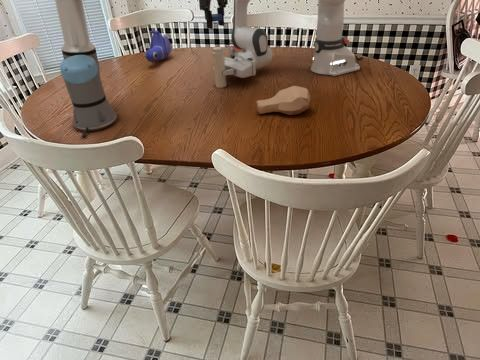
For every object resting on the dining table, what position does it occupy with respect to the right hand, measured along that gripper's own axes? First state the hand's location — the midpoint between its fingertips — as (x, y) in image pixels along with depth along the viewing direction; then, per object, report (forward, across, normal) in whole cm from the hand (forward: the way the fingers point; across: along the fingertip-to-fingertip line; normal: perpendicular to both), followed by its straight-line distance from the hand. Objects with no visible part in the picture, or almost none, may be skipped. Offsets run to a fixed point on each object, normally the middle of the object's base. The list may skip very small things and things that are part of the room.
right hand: (218, 71), depth 152 cm
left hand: (-1, 0, -18) cm, 18 cm away
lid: (-1, 0, -22) cm, 22 cm away
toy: (+1, -52, +6) cm, 52 cm away
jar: (-1, 0, +6) cm, 6 cm away
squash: (0, +38, +6) cm, 39 cm away
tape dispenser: (-32, -22, +6) cm, 39 cm away
